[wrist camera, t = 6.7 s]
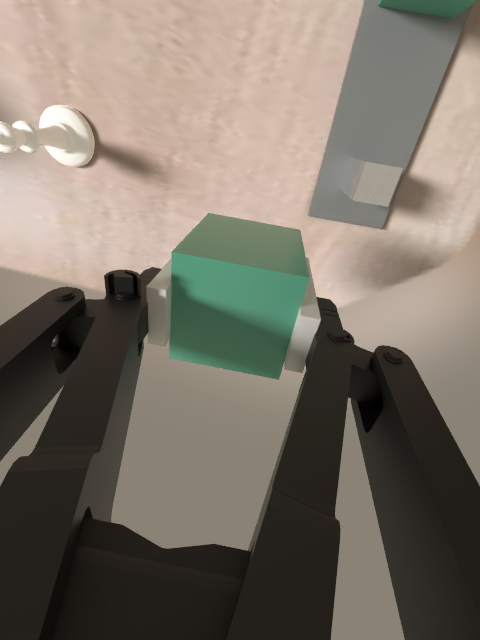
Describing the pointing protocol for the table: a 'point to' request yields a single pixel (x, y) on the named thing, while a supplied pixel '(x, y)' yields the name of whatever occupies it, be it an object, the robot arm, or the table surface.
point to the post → (370, 181)
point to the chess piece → (52, 136)
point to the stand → (386, 96)
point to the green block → (236, 294)
